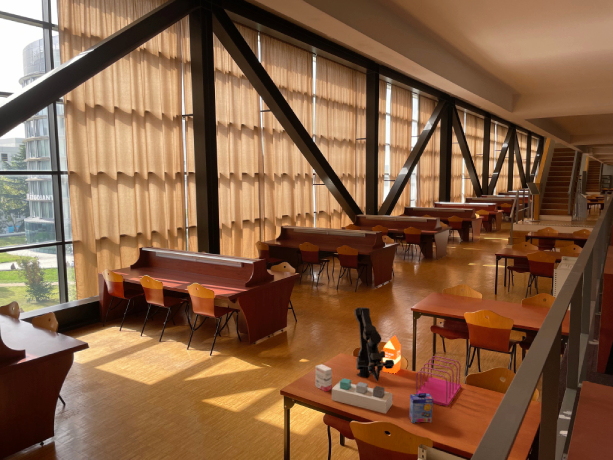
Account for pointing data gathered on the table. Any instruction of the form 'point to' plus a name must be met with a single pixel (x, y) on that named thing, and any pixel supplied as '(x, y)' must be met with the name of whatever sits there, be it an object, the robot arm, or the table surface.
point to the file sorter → (439, 384)
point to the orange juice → (392, 354)
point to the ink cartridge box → (421, 407)
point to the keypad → (362, 398)
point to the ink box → (323, 377)
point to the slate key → (361, 388)
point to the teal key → (345, 384)
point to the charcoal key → (378, 392)
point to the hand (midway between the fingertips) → (377, 381)
